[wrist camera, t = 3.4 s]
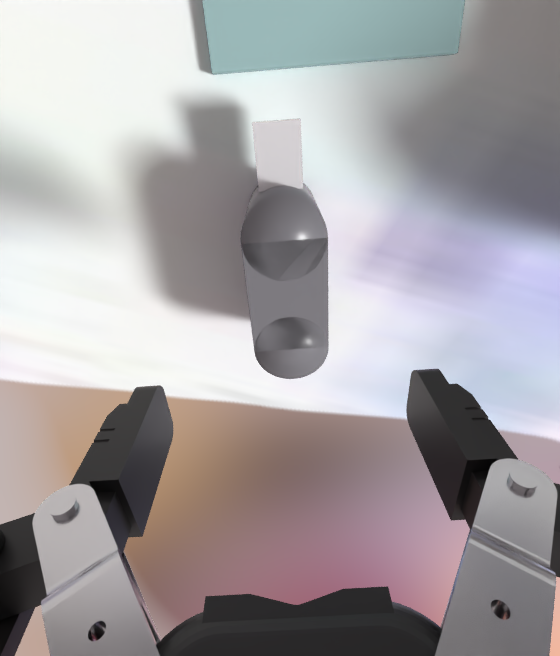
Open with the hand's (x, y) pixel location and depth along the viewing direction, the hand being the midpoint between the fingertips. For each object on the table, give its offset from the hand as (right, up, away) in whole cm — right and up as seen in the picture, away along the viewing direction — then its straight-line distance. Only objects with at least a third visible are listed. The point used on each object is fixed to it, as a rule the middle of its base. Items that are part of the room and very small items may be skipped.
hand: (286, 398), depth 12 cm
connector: (0, +8, +11) cm, 14 cm away
